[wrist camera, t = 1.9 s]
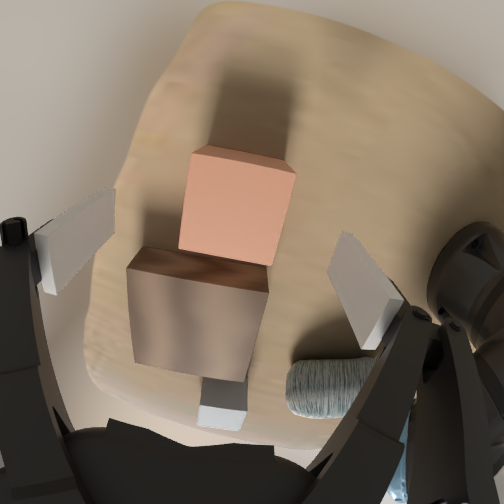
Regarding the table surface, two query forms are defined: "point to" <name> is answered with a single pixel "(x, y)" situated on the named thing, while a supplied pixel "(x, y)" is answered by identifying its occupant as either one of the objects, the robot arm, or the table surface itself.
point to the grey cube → (223, 404)
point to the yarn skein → (325, 386)
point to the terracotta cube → (235, 204)
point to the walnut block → (195, 312)
